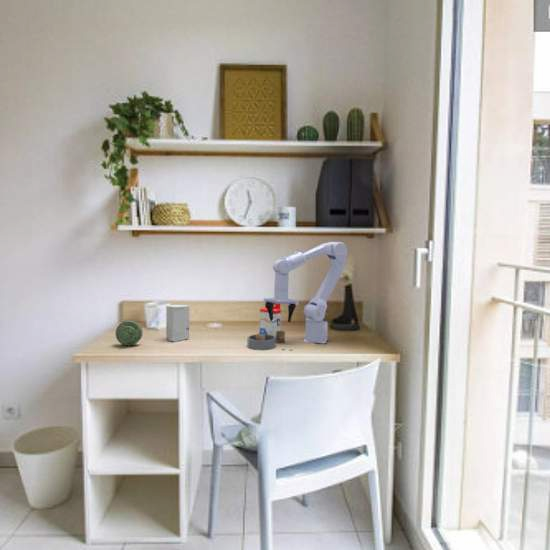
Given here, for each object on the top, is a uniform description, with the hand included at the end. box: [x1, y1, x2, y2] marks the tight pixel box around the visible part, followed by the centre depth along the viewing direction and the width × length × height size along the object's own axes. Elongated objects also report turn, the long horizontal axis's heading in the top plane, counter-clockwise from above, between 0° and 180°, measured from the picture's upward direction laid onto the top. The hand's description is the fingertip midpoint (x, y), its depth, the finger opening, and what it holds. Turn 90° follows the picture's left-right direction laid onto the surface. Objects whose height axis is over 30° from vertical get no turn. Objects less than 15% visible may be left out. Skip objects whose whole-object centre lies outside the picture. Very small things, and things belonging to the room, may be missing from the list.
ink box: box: [259, 303, 282, 337], centre depth 189 cm, size 8×5×15 cm, turn 62°
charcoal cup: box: [246, 333, 277, 351], centre depth 167 cm, size 11×11×4 cm
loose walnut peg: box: [275, 330, 286, 344], centre depth 173 cm, size 4×4×5 cm
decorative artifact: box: [115, 319, 143, 346], centre depth 165 cm, size 10×7×10 cm
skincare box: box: [165, 304, 190, 343], centre depth 177 cm, size 8×6×15 cm
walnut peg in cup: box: [255, 333, 265, 341], centre depth 164 cm, size 4×4×5 cm
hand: (280, 321), depth 172 cm, fingers open, 7 cm apart
